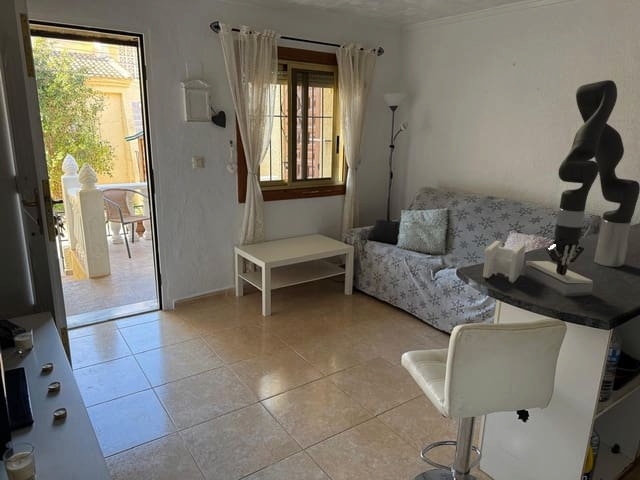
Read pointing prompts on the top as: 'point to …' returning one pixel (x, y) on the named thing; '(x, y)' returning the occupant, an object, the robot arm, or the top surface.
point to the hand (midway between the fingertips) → (560, 274)
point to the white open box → (558, 283)
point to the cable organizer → (504, 261)
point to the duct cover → (551, 270)
